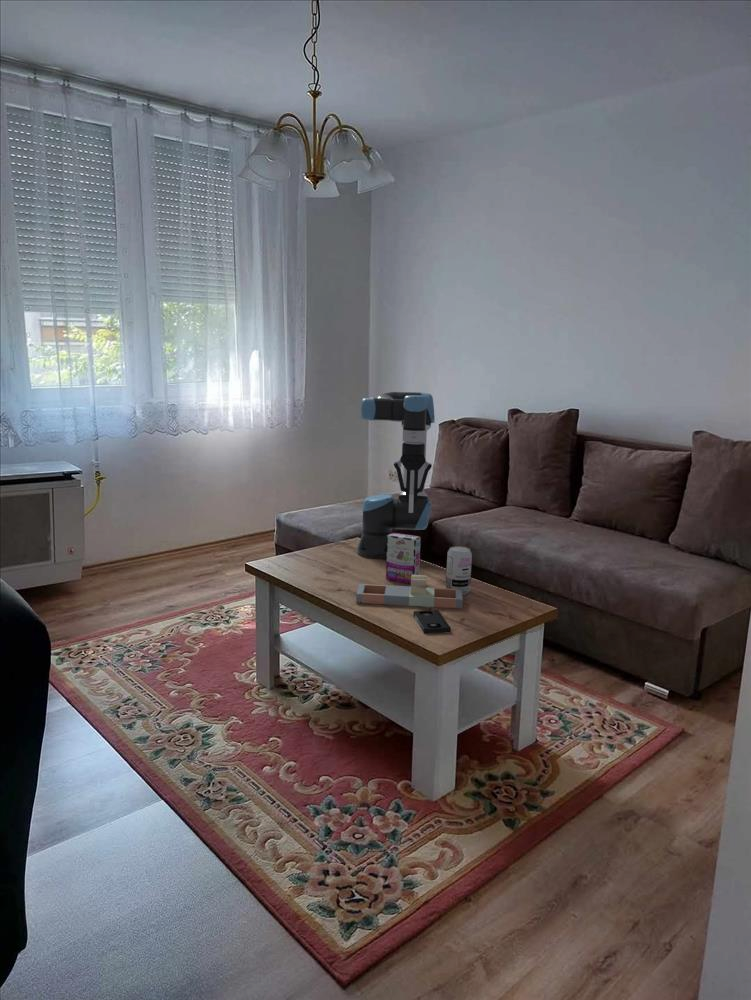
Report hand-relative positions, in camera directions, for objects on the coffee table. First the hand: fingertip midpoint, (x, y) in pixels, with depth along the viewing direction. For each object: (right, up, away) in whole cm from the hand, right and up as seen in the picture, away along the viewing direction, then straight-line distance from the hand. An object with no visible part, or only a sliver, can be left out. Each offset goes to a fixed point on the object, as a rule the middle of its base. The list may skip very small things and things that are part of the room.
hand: (410, 511), depth 243 cm
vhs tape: (+5, -34, -27) cm, 44 cm away
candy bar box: (-2, -25, +12) cm, 27 cm away
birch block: (+2, -26, -9) cm, 28 cm away
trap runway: (-1, -29, -8) cm, 30 cm away
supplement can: (+16, -27, +1) cm, 32 cm away
